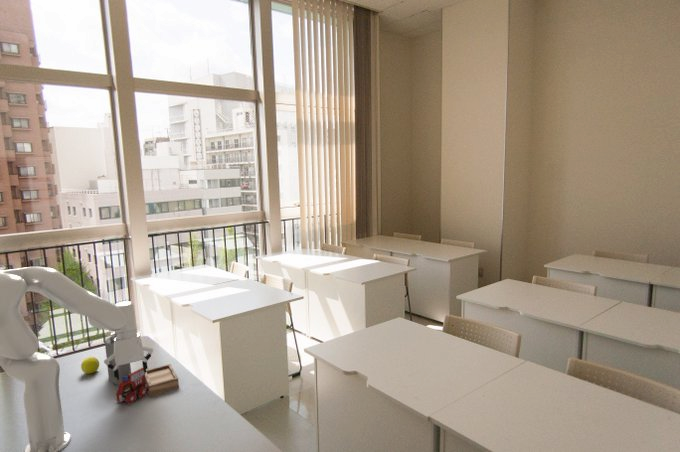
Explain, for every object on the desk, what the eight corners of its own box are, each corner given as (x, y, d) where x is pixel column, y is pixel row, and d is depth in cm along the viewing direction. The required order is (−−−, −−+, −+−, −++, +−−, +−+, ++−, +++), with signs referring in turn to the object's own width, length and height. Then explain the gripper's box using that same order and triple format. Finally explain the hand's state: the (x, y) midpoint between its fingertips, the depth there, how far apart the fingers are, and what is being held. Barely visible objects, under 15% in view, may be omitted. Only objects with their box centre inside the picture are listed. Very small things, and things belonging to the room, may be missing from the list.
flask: (105, 378, 184) (100, 334, 182) (118, 372, 189) (114, 330, 186) (119, 388, 175) (115, 342, 172) (134, 382, 179) (129, 337, 177)
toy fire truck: (112, 403, 163) (109, 378, 162) (140, 389, 174) (138, 365, 172) (123, 408, 160) (121, 382, 158) (152, 392, 170) (149, 368, 169)
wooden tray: (179, 388, 173) (178, 378, 173) (150, 396, 167) (149, 386, 167) (171, 373, 187) (170, 363, 186) (144, 380, 181) (143, 370, 180)
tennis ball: (80, 372, 190) (78, 358, 189) (97, 367, 195) (96, 353, 194) (84, 377, 185) (82, 362, 184) (101, 372, 190) (100, 357, 189)
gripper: (101, 342, 156) (107, 385, 158) (151, 331, 165) (156, 371, 167) (100, 336, 162) (106, 377, 165) (149, 325, 171) (153, 364, 174)
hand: (131, 374), depth 166 cm, fingers open, 9 cm apart
